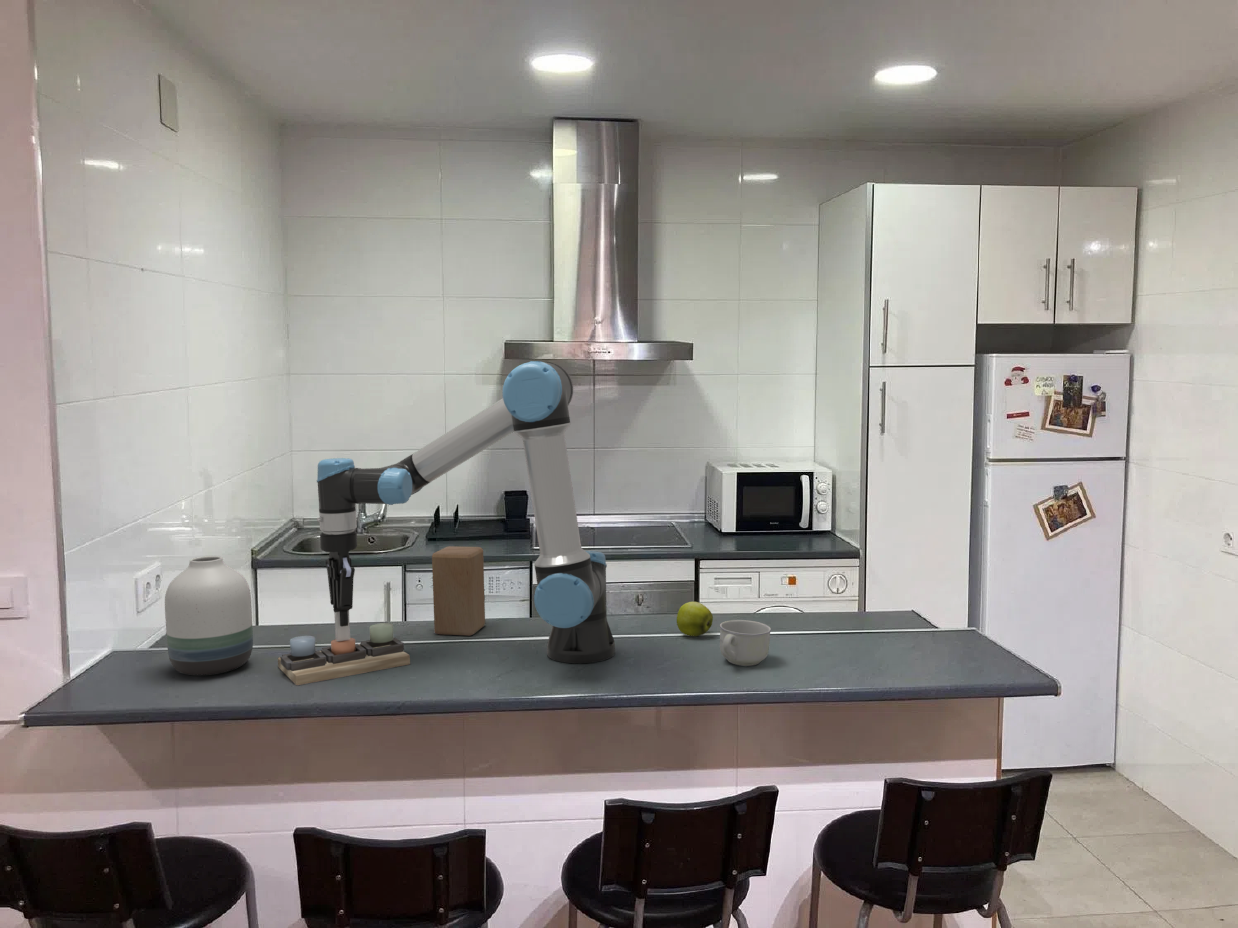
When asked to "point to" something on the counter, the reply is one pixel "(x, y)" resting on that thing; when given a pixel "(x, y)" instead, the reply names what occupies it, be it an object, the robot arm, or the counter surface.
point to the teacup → (744, 641)
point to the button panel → (344, 662)
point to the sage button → (381, 633)
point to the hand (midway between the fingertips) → (342, 639)
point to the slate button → (302, 646)
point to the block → (458, 590)
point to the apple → (694, 619)
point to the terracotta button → (343, 646)
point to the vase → (208, 618)
